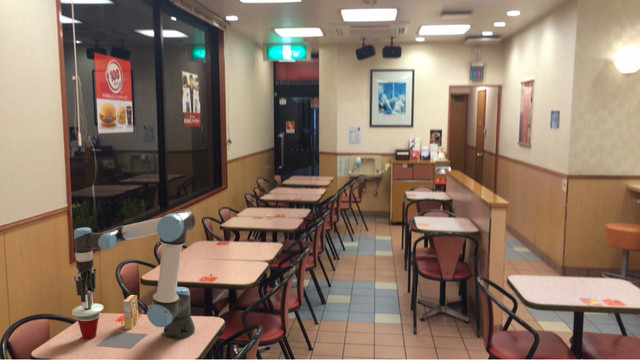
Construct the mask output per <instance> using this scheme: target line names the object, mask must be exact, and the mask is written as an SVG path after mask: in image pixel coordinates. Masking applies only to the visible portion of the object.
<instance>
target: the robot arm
mask: <svg viewBox="0 0 640 360" xmlns="http://www.w3.org/2000/svg"><path fill="white" fill-rule="evenodd" d="M196 220H197V219H196V216H195V214H194V213H193V212H192V211H190V210H189V209H185V208H183V209H178V210H176V211H174V212H171V213H167V214H166V215H164V216H162V217H158V218H154V219H152V218H151V219H148V220H144V221H140V222H134V223H130V224H126V225H118V226H116V227H113V228H110V229H108V230H106V231H103V232H92V229H91V228H90V227H88V226H87V227H79V228H75V229H74V231H73V241H74V249H75V250H74V252H75V265H76V266H75V267H76V269H77V271H78V272H77V275H76V276H74V278H73V279H74V281H75V285H76V286H75V287H76V294H77V296H79V297H80V301H81V305H82V308H88V298H87V295H86V290H90V295H91V305H93V303H94V300H93V299H94V298H93V297H94V296H93V295H94V294H93V293H94V292H95V290H96V273H97V269H96V268H93V267H94V259H93V258H94V253H93V249H95V250H98V249H99V250H112V249H114V248H115V246H116V245H117V244H118V243H122V242H126V241H129V240H135V239H138V238H139V239H140V238H144V237H150V236H153V235H158V237H159V242H160V244H162V248H161V256H160V257H161V258H160V264H159V273H158V274H159V275H158V281H157V289H156V290H157V291H156V293H154V294H153V296H152V304H151V305H150V306H149V307H148V309H147V312H146V317H147V319H148V321H149V322H150V323H151V325H153V326H155V327H158V328H163V336H164V337H166V338H169V339H171V340H176V339H177V340H178V339H184V338H187V337H190V336H192V335H193V334H195V331H196V326H195V323H194V321H193V319H192V316H191V293H190V289H189V288H188V287H184V286H178V281H179V280H178V279H179V272H180V265H181V264H180V263H181V256H182V255H181V254H182V247H183V246H184V245H185V244H186V241H187V235H188V234H189V233H190V232H191V231H193V230H194V228H195V226H196V224H197V221H196Z"/></svg>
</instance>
